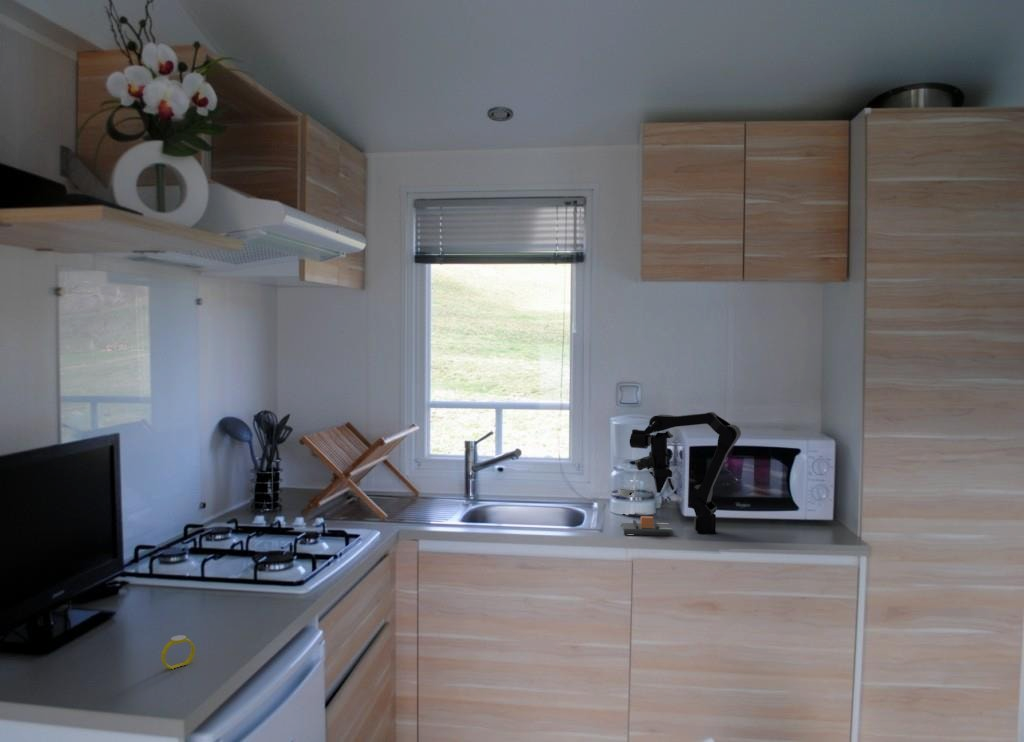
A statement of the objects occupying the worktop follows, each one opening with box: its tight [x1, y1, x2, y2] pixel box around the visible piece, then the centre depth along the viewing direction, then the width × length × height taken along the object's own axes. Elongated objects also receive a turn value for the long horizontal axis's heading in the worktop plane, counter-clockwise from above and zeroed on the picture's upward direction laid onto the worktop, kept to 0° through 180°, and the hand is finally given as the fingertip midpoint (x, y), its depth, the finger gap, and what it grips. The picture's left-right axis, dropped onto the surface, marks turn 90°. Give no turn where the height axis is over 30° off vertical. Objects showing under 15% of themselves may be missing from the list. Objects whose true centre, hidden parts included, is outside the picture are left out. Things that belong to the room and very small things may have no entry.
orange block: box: [640, 515, 654, 528], centre depth 240 cm, size 4×2×4 cm, turn 87°
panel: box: [620, 519, 673, 536], centre depth 242 cm, size 16×8×3 cm, turn 87°
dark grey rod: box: [623, 532, 671, 537], centre depth 237 cm, size 16×1×1 cm, turn 87°
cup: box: [617, 488, 635, 497], centre depth 269 cm, size 8×8×10 cm
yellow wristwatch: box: [160, 634, 196, 670], centre depth 138 cm, size 6×3×6 cm, turn 133°
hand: (658, 492), depth 251 cm, fingers closed
